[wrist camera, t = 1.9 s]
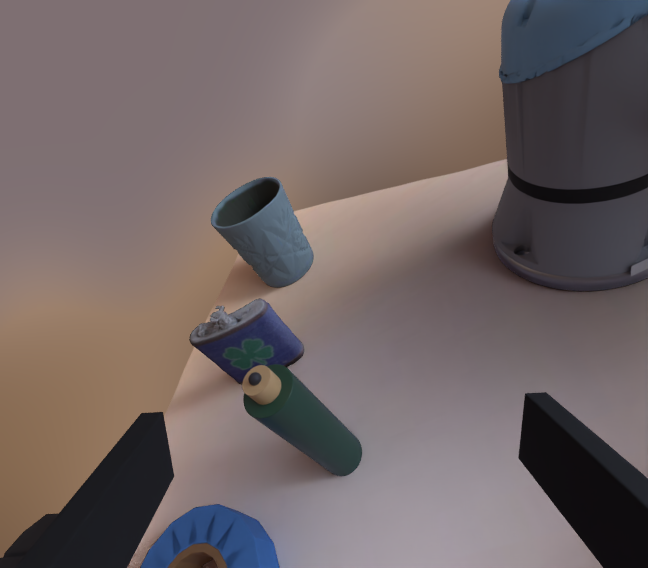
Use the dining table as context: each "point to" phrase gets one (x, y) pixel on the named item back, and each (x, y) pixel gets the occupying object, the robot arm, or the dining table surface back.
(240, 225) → the grey faceted cup
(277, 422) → the green cylinder
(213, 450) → the dining table surface
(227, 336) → the flask
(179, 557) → the tape roll
